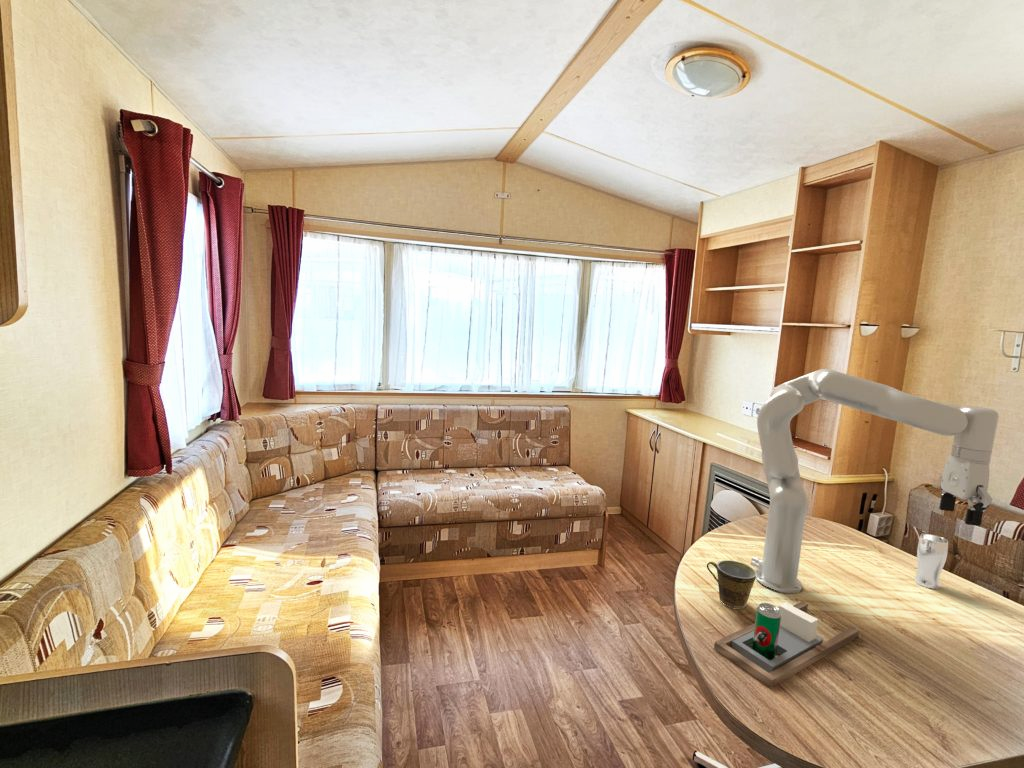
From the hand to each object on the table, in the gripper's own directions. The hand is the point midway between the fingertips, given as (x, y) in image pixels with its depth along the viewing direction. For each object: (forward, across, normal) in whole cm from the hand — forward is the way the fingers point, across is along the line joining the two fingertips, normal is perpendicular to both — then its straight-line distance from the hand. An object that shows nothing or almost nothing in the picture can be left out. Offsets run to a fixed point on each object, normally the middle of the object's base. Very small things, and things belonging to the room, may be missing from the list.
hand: (958, 517), depth 129 cm
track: (+30, +21, -45) cm, 57 cm away
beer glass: (+30, -21, +9) cm, 37 cm away
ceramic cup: (+30, +5, -56) cm, 64 cm away
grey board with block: (+30, +24, -49) cm, 62 cm away
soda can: (+30, +28, -53) cm, 67 cm away
